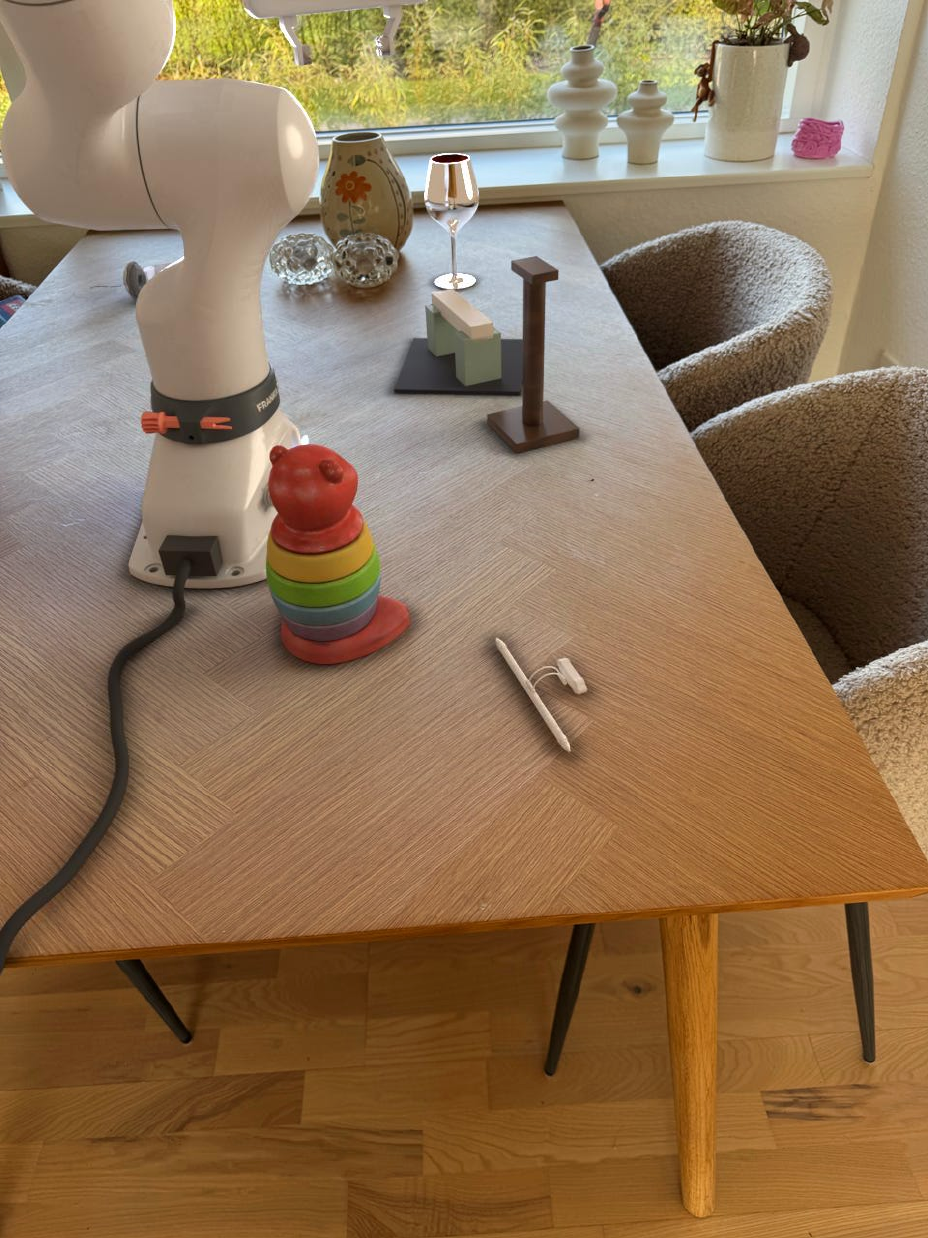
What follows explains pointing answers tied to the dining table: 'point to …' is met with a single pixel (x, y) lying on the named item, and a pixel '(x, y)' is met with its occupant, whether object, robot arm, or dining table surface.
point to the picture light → (565, 675)
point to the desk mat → (440, 372)
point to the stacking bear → (325, 560)
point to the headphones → (138, 277)
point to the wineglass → (451, 205)
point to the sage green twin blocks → (463, 337)
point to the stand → (533, 371)
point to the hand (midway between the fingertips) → (345, 59)
